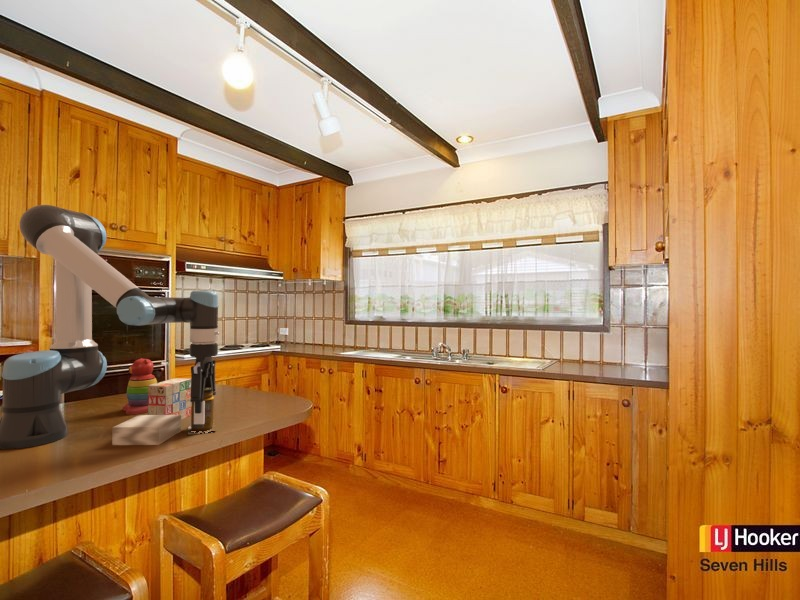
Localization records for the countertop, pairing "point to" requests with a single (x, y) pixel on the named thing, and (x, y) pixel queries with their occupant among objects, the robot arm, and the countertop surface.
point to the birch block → (146, 430)
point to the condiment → (208, 414)
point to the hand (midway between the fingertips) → (203, 420)
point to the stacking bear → (139, 386)
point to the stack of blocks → (170, 398)
